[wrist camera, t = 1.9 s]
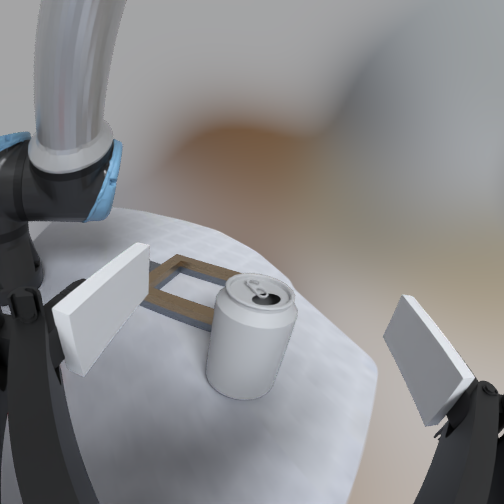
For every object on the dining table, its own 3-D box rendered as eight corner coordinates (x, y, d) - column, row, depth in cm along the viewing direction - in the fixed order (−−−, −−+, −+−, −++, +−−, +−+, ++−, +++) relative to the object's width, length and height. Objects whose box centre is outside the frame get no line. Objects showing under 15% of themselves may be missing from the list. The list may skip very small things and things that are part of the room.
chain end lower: (100, 287, 38) (99, 270, 37) (149, 257, 52) (150, 243, 51) (223, 336, 35) (226, 318, 34) (251, 288, 49) (254, 273, 48)
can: (227, 414, 23) (251, 319, 19) (193, 366, 29) (203, 272, 25) (285, 390, 28) (319, 300, 24) (247, 350, 33) (268, 264, 29)
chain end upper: (129, 300, 37) (128, 275, 36) (175, 265, 51) (177, 245, 50) (267, 350, 34) (275, 324, 33) (284, 297, 48) (290, 276, 46)
